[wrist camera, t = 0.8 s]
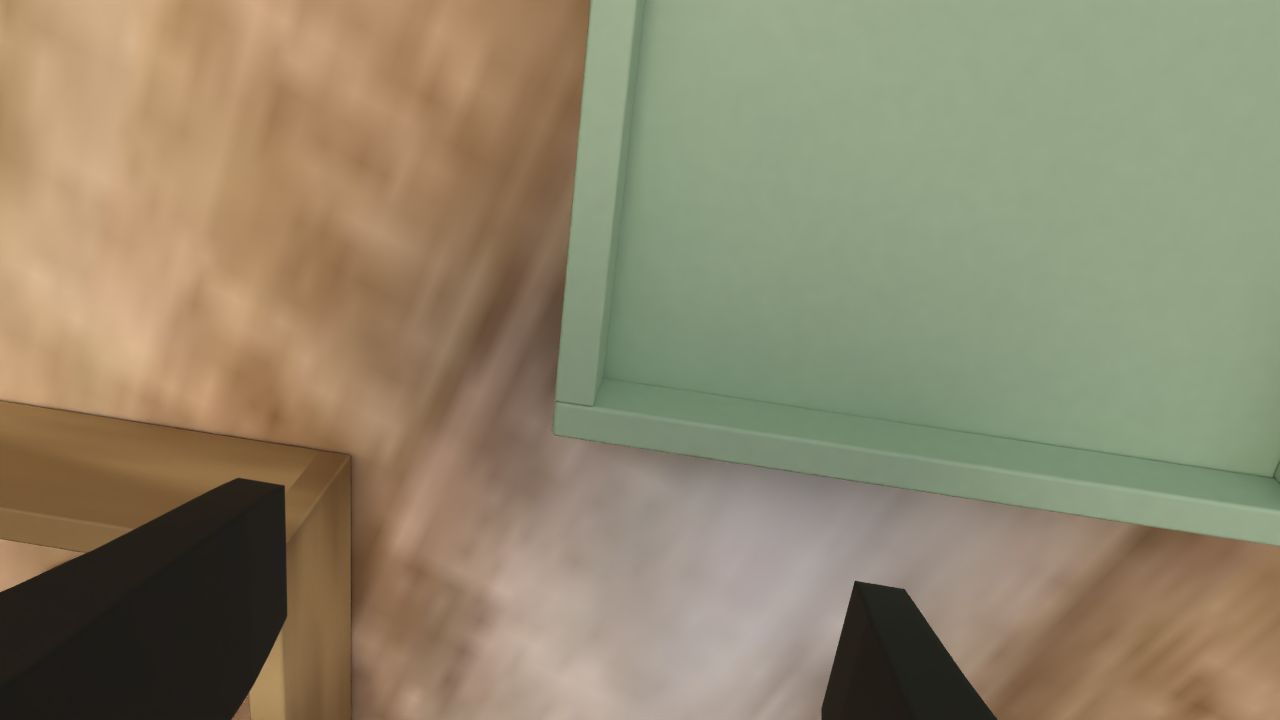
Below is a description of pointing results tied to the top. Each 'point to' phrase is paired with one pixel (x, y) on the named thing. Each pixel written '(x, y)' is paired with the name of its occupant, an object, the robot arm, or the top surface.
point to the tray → (938, 248)
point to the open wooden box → (167, 478)
